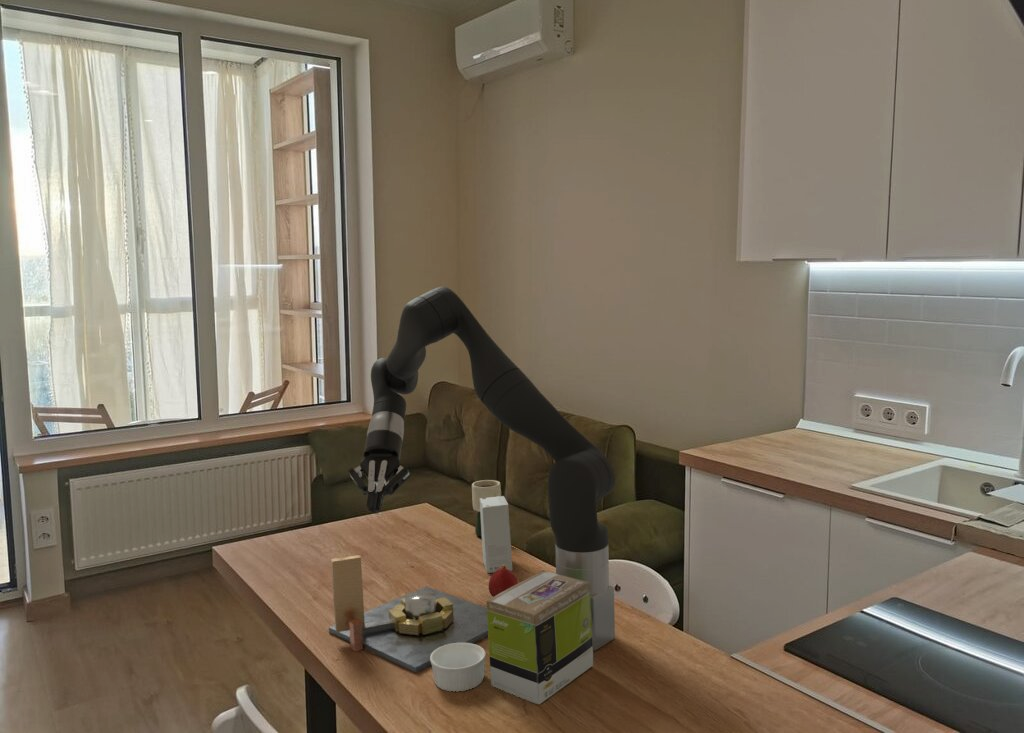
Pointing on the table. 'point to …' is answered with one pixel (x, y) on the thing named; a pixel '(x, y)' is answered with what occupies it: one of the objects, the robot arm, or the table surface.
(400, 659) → the hub base
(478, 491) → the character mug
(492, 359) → the robot arm
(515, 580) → the onion
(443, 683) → the ramekin
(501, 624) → the tea box
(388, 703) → the table surface
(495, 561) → the skincare box
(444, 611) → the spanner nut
